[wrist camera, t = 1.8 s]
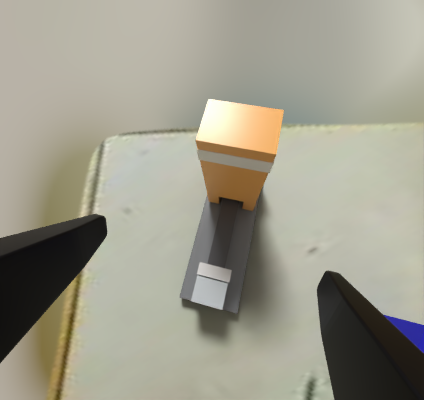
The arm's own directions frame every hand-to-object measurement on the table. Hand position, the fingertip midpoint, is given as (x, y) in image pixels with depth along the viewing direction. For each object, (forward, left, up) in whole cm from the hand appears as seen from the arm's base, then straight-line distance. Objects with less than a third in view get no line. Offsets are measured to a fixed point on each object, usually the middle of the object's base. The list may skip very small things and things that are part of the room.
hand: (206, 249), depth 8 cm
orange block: (+7, +3, -12) cm, 14 cm away
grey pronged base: (+3, +2, -13) cm, 14 cm away
